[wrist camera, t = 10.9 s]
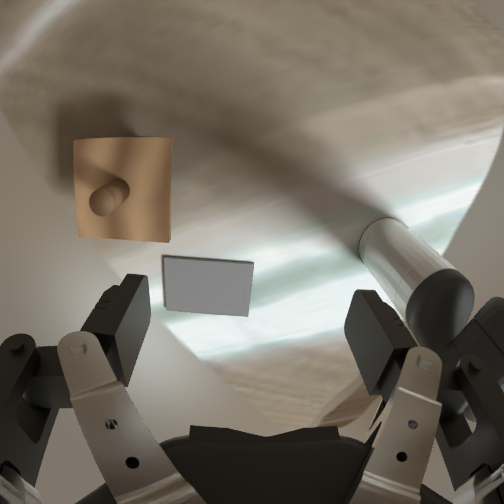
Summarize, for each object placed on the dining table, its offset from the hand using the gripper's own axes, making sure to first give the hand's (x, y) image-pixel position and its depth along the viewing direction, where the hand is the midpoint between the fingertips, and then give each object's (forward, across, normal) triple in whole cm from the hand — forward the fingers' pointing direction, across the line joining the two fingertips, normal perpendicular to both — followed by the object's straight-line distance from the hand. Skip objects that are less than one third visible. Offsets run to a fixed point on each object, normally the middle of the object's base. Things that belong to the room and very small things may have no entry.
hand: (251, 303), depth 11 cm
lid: (+24, +14, +2) cm, 28 cm away
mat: (+33, +4, +20) cm, 39 cm away
